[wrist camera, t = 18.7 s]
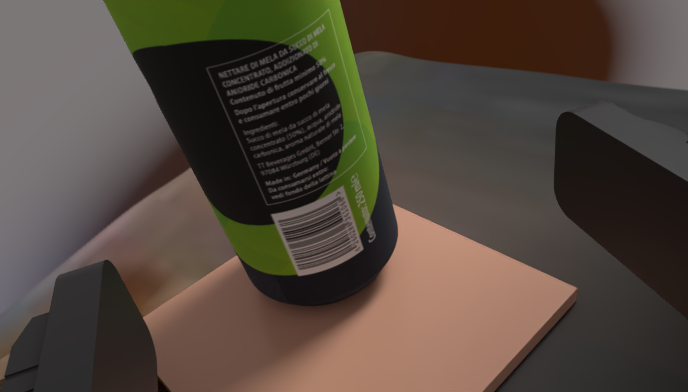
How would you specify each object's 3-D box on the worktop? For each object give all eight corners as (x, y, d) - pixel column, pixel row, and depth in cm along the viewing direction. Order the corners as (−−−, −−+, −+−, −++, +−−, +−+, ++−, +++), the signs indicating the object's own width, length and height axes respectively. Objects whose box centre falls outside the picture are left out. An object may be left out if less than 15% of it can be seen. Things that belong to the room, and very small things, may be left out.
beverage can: (420, 209, 24) (324, -225, 14) (372, 330, 19) (195, -171, 10) (292, 201, 26) (142, -169, 17) (226, 305, 22) (-19, -109, 13)
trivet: (347, 192, 28) (345, 182, 28) (576, 300, 20) (577, 288, 19) (127, 342, 22) (121, 331, 22) (323, 580, 14) (318, 570, 14)
